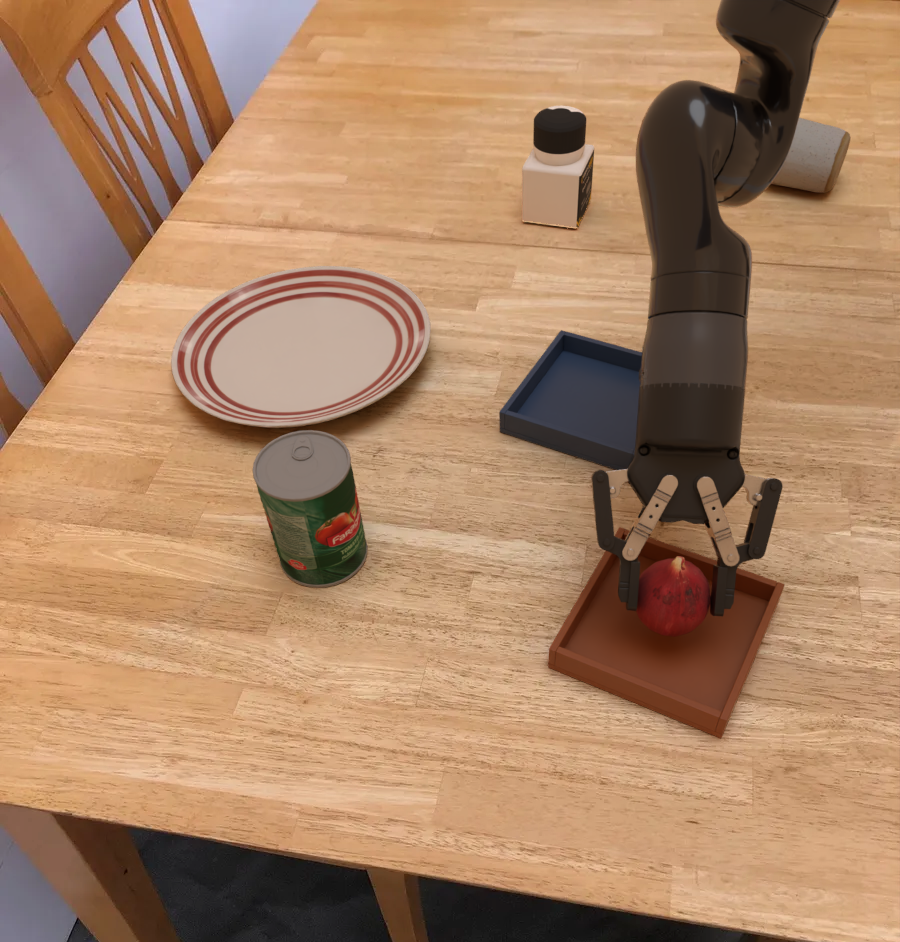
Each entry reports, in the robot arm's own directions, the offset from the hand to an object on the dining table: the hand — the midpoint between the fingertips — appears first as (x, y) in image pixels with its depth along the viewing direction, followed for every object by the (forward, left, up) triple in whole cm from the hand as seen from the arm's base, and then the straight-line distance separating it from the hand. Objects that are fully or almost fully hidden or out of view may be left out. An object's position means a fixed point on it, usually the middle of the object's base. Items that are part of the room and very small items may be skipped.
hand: (673, 611), depth 70 cm
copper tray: (+1, -2, -5) cm, 6 cm away
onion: (+1, -2, -4) cm, 5 cm away
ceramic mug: (+11, -76, -5) cm, 76 cm away
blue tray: (+17, -25, -5) cm, 30 cm away
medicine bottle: (+36, -57, -6) cm, 67 cm away
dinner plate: (+48, -19, -5) cm, 51 cm away
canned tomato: (+31, +3, -5) cm, 31 cm away
